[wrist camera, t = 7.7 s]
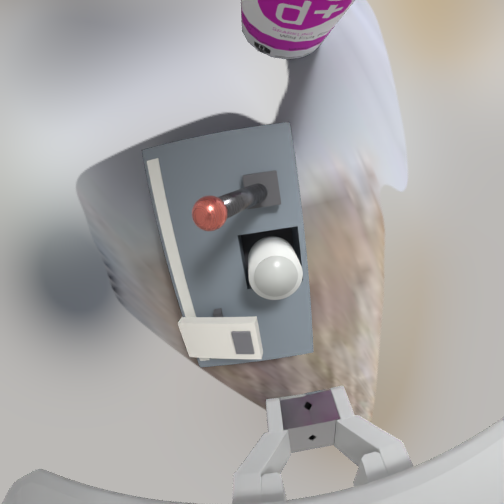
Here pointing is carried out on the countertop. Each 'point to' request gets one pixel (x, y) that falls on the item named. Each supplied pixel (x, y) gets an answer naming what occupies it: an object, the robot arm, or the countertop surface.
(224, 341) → the rocker
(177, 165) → the console
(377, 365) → the countertop surface
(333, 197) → the countertop surface
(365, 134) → the countertop surface
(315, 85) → the countertop surface
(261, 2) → the supplement can
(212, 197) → the lever
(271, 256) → the button
